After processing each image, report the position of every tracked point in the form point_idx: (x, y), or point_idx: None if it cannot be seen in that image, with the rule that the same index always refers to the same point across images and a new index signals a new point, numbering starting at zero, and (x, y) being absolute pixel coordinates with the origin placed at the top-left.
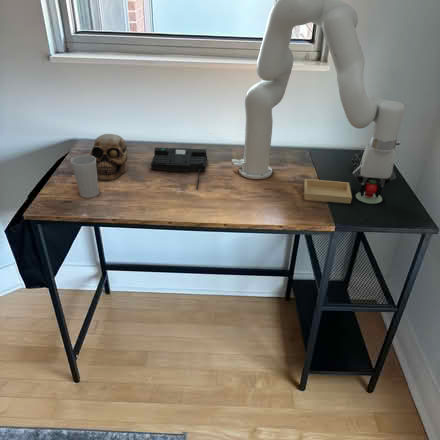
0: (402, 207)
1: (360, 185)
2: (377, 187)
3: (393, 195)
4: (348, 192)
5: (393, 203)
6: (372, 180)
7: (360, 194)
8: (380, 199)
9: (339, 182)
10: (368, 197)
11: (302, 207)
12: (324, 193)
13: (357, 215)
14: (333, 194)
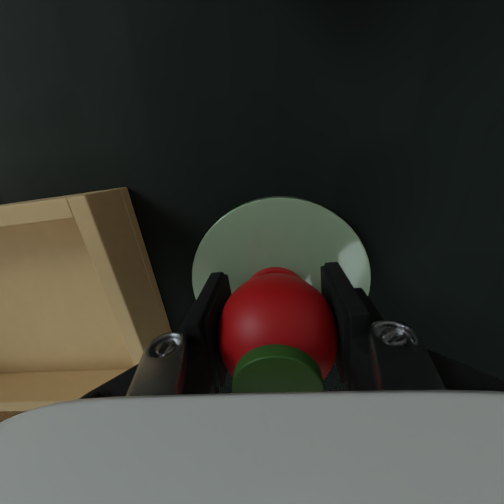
0: (486, 336)
1: (180, 331)
2: (335, 356)
3: (486, 173)
4: (131, 351)
5: (440, 301)
6: (275, 374)
7: (220, 265)
8: None
9: (14, 222)
10: None
11: (9, 417)
12: (20, 307)
13: None
14: (68, 306)
